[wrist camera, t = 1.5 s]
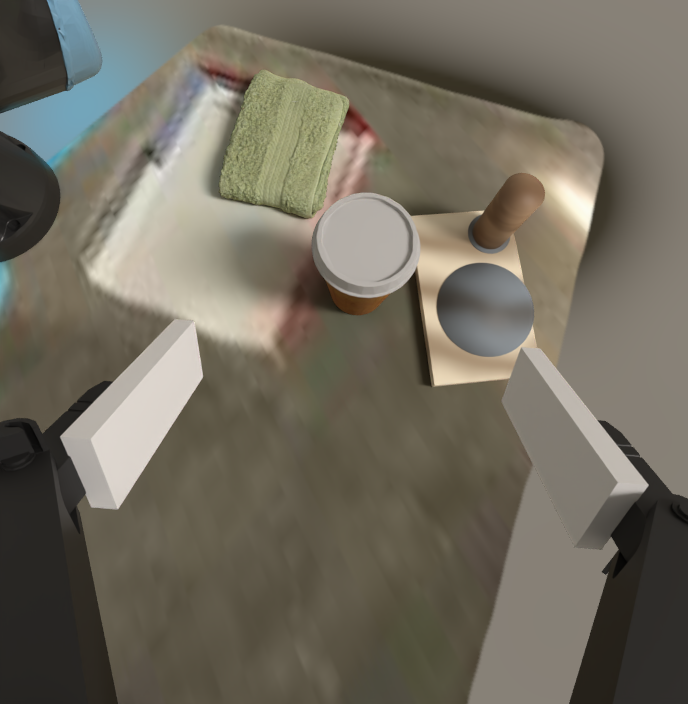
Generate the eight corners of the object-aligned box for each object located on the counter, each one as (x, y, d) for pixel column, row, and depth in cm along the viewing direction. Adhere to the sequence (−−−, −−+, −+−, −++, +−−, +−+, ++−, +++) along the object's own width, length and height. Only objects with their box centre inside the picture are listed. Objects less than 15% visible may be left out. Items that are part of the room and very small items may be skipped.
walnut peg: (469, 219, 44) (500, 174, 36) (502, 216, 44) (540, 171, 36) (475, 250, 43) (508, 212, 35) (508, 248, 43) (548, 209, 36)
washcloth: (352, 105, 48) (353, 82, 45) (319, 226, 45) (318, 211, 42) (253, 82, 48) (248, 58, 45) (213, 201, 45) (205, 185, 42)
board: (407, 221, 45) (410, 215, 44) (508, 214, 46) (513, 208, 44) (431, 386, 41) (434, 385, 40) (540, 376, 42) (547, 374, 41)
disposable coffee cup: (382, 241, 44) (401, 175, 33) (409, 315, 43) (440, 274, 31) (305, 263, 43) (296, 203, 32) (330, 339, 42) (330, 306, 30)
